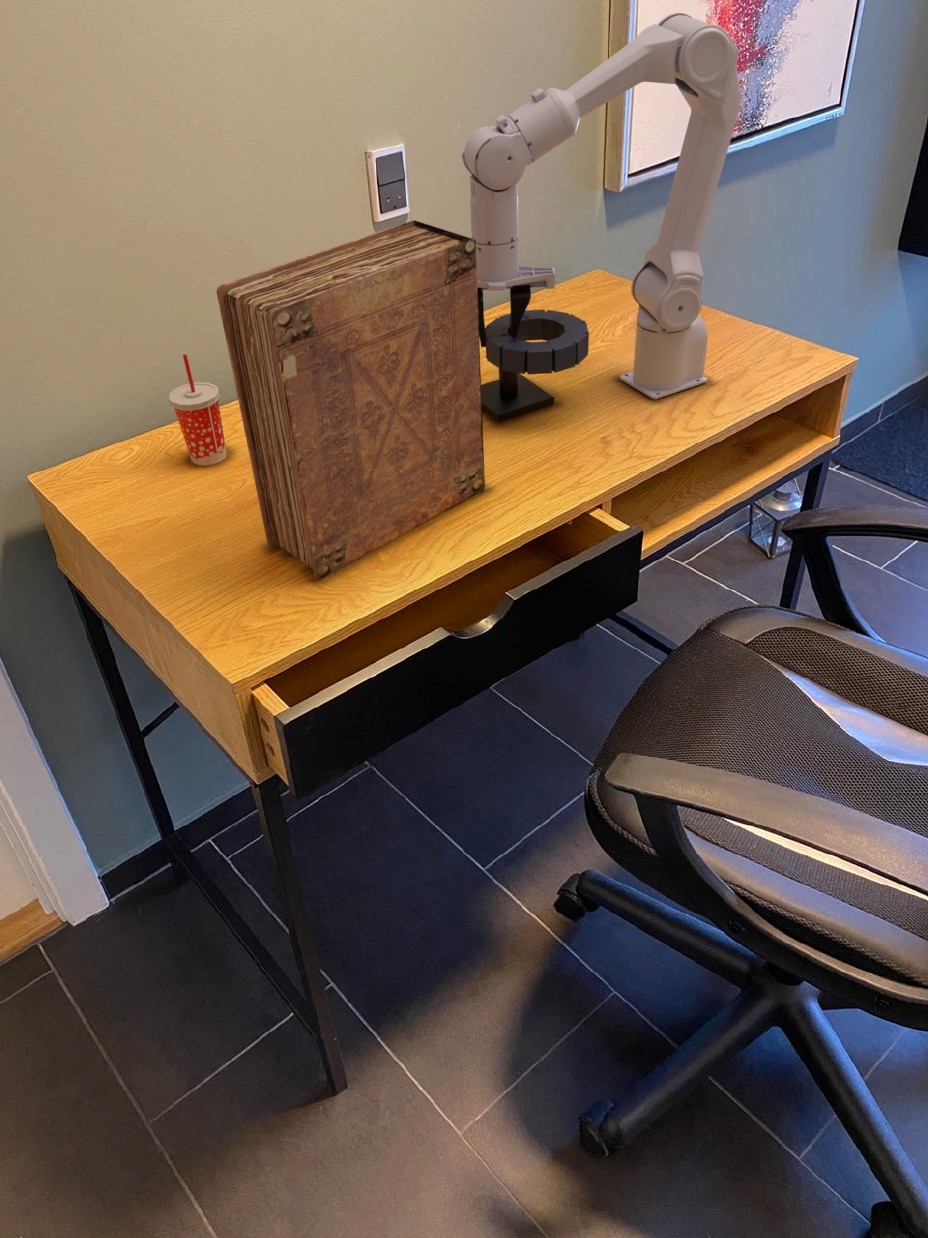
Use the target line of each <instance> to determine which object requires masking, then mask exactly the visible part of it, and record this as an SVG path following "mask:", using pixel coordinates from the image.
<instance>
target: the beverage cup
mask: <svg viewBox="0 0 928 1238" xmlns="http://www.w3.org/2000/svg"><path fill="white" fill-rule="evenodd" d="M182 359H183V363H184V366H185V367H184V368H185V371H186V375H187V379H188V383H186V384H183V385H180V386H178V387H176V388H174V389H173V390H172V391H171V392H170V393H169V395H168V396H169V397H168V400H169V402H170V406H171V407H173V408H174V412H175V415H176V418H177V421H178V424H179V428H180V431H181V434H182V436H183V439H184V442H185V445H186V449H187V451H188V455H189V457H190V461H191V462H192V463H193V464H195V465H197V466H213V465H216V464H218V463H220V462H223V461H224V460H225V459H226V457H227V455H228V453H227V446H226V441H225V440H226V439H225V434H224V428H223V422H222V414H221V407H220V402H219V400H220V390H219V389H220V388H219V387H218V386H217V385H216V384H213V383H212V382H211V383H210V382H206V381H205V382H202V381H198V382H194V380H193V375H192V371H191V366H190V364H189V359H188V355H187V354H182Z"/></svg>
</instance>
